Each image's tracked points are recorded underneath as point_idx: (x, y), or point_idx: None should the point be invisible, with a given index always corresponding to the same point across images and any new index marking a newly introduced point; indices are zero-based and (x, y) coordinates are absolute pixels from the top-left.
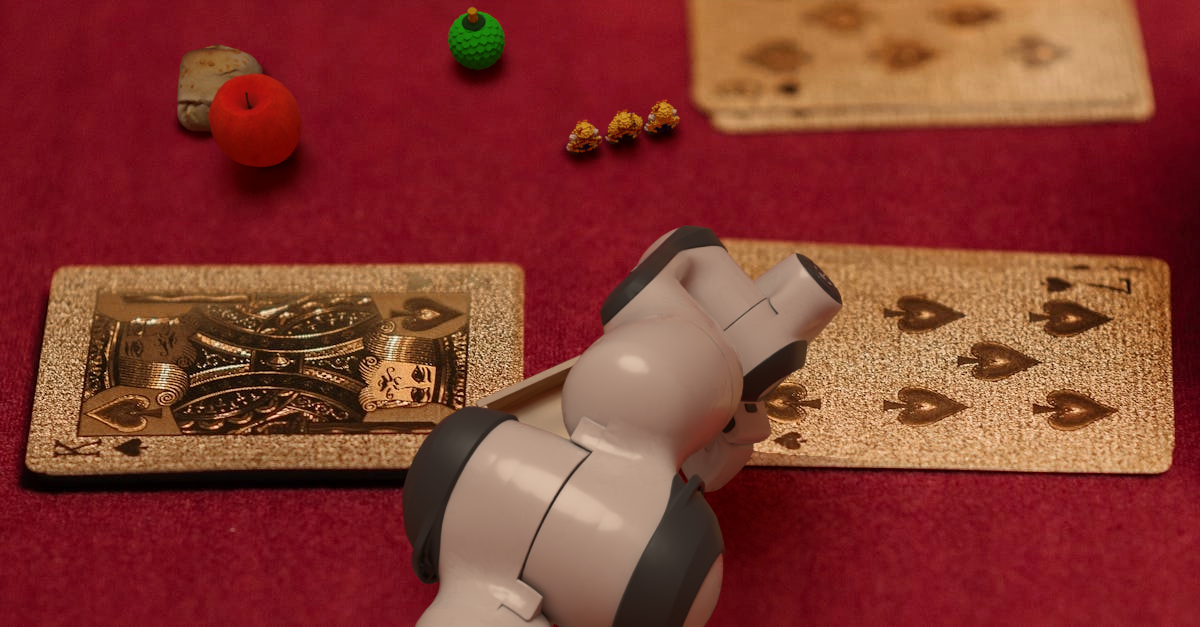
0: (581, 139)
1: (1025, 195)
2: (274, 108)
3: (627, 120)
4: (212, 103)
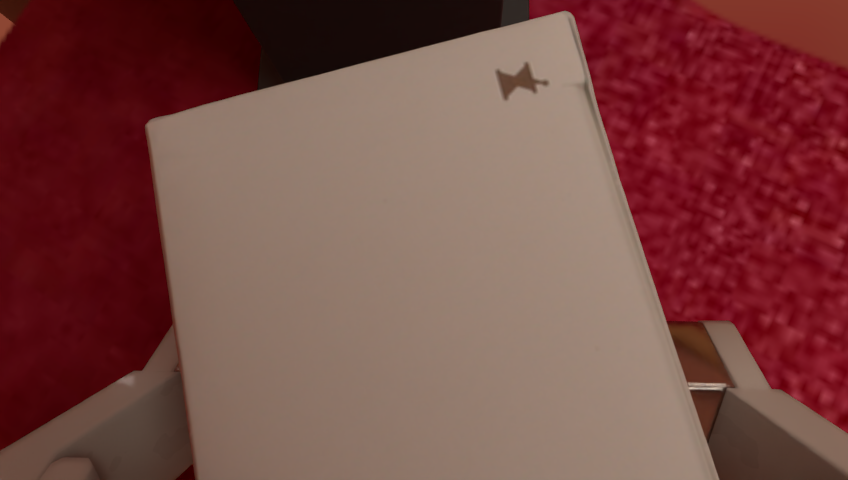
0: None
1: None
2: None
3: None
4: None
